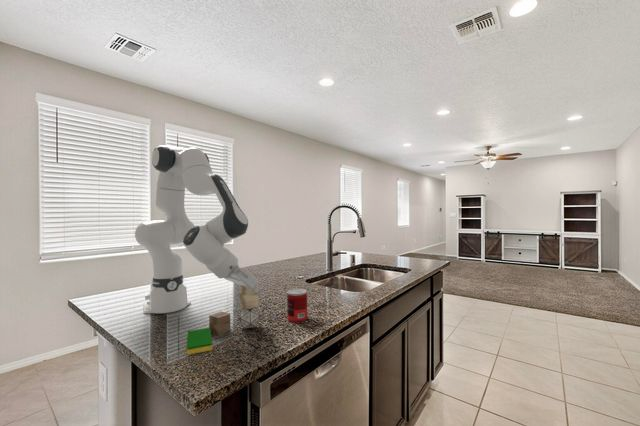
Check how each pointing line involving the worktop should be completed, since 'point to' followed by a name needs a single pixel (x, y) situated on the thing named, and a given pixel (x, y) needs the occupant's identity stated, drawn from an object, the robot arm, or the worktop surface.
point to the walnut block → (219, 323)
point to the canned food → (297, 305)
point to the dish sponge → (199, 341)
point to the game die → (249, 318)
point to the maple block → (248, 297)
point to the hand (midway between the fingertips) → (250, 288)
